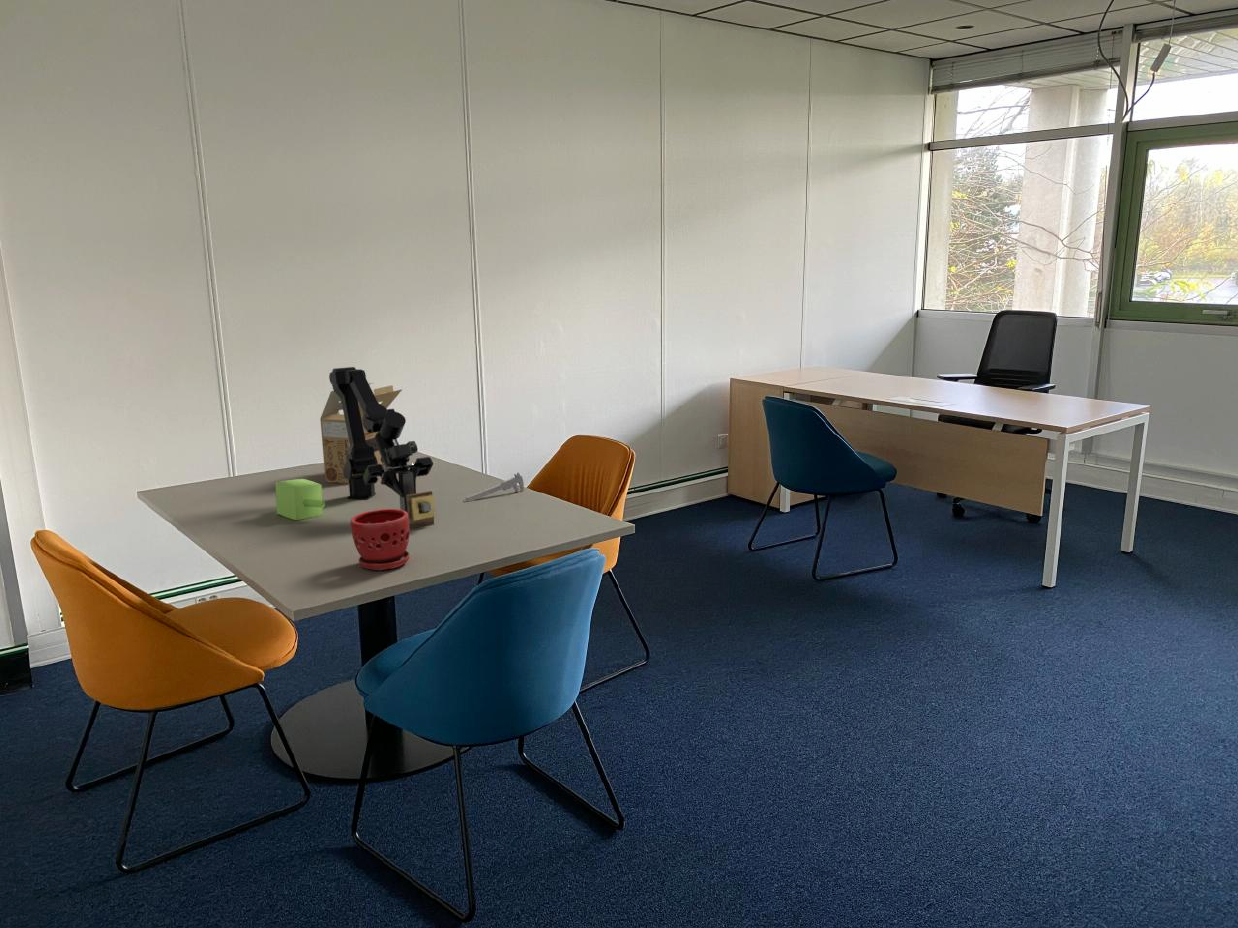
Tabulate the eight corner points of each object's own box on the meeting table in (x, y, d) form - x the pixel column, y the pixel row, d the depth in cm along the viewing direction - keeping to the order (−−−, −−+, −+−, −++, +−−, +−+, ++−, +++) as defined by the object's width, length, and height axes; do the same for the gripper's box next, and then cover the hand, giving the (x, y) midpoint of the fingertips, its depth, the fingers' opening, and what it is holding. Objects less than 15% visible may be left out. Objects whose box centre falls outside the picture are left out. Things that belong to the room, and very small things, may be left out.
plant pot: (393, 552, 227) (390, 504, 224) (422, 564, 218) (419, 515, 215) (344, 564, 218) (340, 515, 216) (371, 577, 209) (367, 526, 206)
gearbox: (336, 518, 260) (336, 485, 258) (304, 524, 252) (303, 490, 251) (303, 506, 271) (302, 474, 270) (271, 512, 264) (270, 479, 262)
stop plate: (404, 525, 250) (402, 493, 248) (428, 521, 254) (426, 489, 252) (410, 528, 247) (407, 495, 245) (434, 523, 251) (432, 491, 249)
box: (371, 485, 295) (364, 391, 288) (319, 481, 302) (312, 389, 295) (407, 471, 314) (402, 383, 307) (358, 467, 320) (352, 381, 314)
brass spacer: (412, 519, 246) (410, 497, 245) (432, 515, 250) (431, 494, 248) (414, 520, 245) (412, 498, 244) (434, 516, 249) (433, 494, 247)
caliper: (522, 491, 286) (521, 471, 285) (524, 492, 285) (523, 472, 284) (462, 502, 274) (461, 481, 273) (464, 503, 273) (463, 482, 272)
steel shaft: (401, 518, 256) (398, 472, 253) (411, 516, 257) (408, 470, 255) (423, 529, 245) (420, 481, 242) (434, 527, 247) (431, 479, 244)
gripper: (364, 436, 248) (383, 484, 242) (428, 428, 259) (448, 473, 253) (355, 460, 256) (373, 507, 250) (417, 451, 267) (437, 496, 260)
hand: (409, 495), depth 253 cm, fingers closed on steel shaft, 3 cm apart
